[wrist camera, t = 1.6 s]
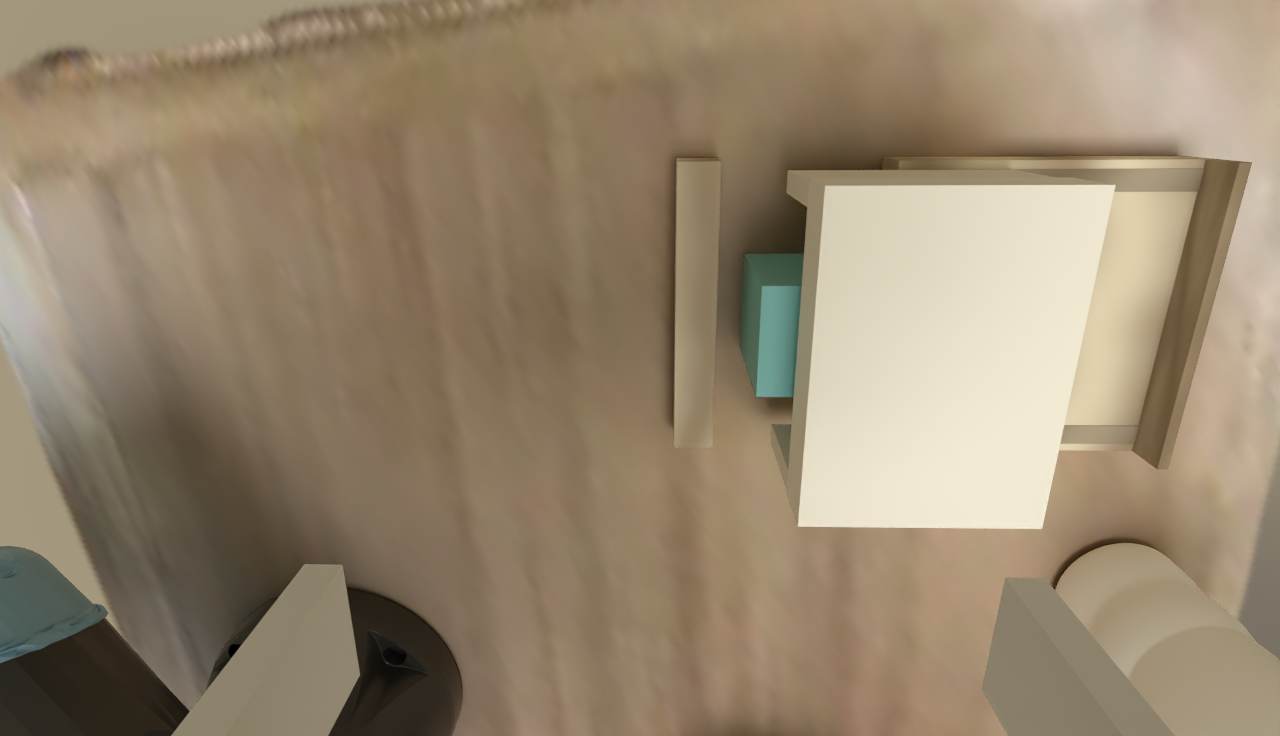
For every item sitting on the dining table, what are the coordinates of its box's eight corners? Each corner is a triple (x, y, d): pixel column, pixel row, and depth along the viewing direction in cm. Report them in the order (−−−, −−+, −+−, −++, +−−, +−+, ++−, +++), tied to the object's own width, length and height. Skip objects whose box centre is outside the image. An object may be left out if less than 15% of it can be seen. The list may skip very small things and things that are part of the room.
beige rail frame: (673, 427, 40) (674, 465, 36) (676, 157, 35) (678, 164, 31) (1113, 430, 39) (1167, 469, 35) (1179, 155, 34) (1252, 162, 30)
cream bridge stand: (770, 443, 37) (797, 526, 30) (787, 168, 32) (825, 185, 25) (966, 445, 37) (1041, 528, 30) (1012, 167, 32) (1115, 184, 25)
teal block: (739, 346, 38) (756, 397, 32) (743, 253, 37) (761, 286, 30) (834, 347, 38) (870, 397, 32) (842, 253, 36) (882, 286, 30)
